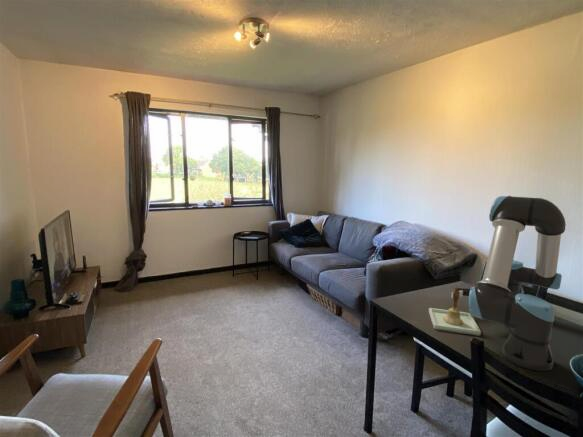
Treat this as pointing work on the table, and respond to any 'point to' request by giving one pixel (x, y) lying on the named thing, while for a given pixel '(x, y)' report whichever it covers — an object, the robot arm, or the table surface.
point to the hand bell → (454, 311)
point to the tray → (466, 328)
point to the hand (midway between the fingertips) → (464, 300)
